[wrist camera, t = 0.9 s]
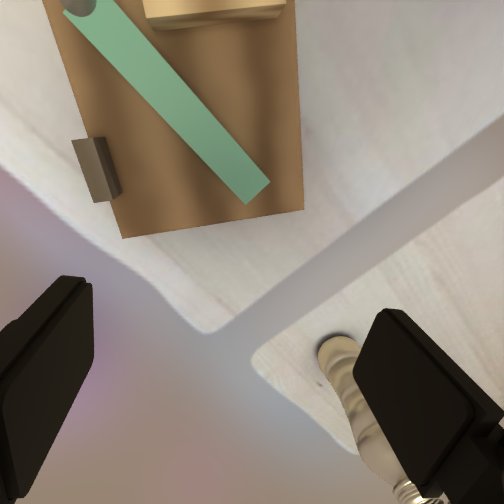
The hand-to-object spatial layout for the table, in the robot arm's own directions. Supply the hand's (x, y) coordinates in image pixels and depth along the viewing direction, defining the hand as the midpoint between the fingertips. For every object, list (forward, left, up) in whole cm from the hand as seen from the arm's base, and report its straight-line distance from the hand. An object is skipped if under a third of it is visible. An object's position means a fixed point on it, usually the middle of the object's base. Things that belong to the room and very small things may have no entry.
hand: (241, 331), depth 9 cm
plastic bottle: (-13, +26, -24) cm, 38 cm away
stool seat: (+1, -7, -24) cm, 25 cm away
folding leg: (+2, -8, -21) cm, 22 cm away
